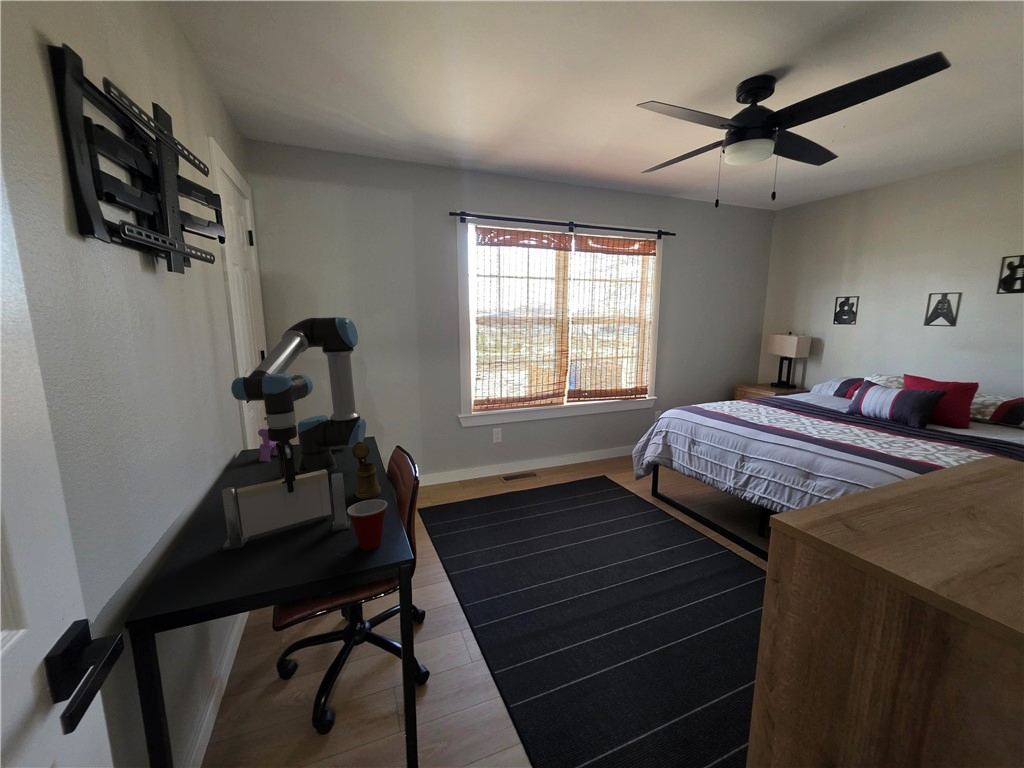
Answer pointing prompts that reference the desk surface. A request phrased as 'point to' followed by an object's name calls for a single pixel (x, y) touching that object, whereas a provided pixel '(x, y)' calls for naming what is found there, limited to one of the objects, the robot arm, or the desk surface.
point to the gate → (283, 503)
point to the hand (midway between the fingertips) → (290, 499)
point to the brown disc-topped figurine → (365, 473)
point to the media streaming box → (336, 449)
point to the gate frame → (238, 541)
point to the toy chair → (266, 446)
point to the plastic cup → (368, 522)
